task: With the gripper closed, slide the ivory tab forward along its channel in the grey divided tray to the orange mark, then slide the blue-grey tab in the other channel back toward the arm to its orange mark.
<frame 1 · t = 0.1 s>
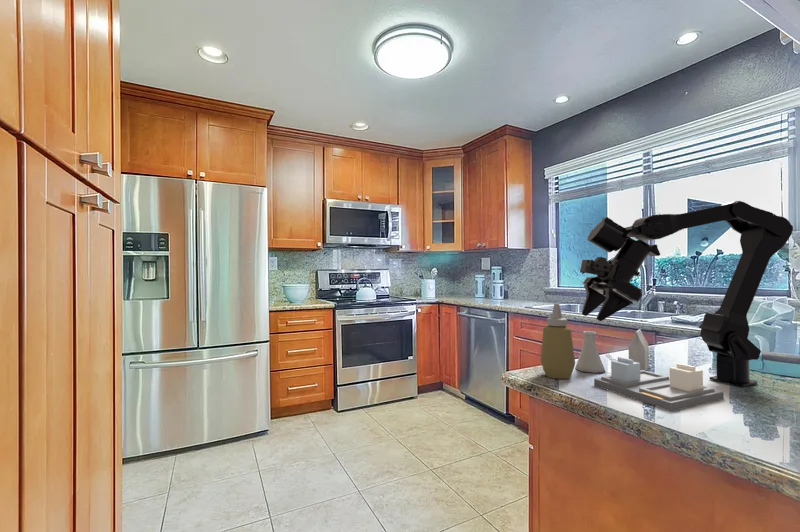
hand: (590, 317, 91), 15 cm above the counter, tool tilted 35°, fingers open, 9 cm apart
tab blue: (625, 369, 85), point 4 cm above the counter, slide at 3.0 cm
tab ivory: (686, 376, 78), point 4 cm above the counter, slide at -3.0 cm
squeeze bottle: (557, 376, 94), on the counter
flask: (590, 370, 99), on the counter
grey divided tray: (654, 391, 82), on the counter
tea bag: (639, 369, 101), on the counter
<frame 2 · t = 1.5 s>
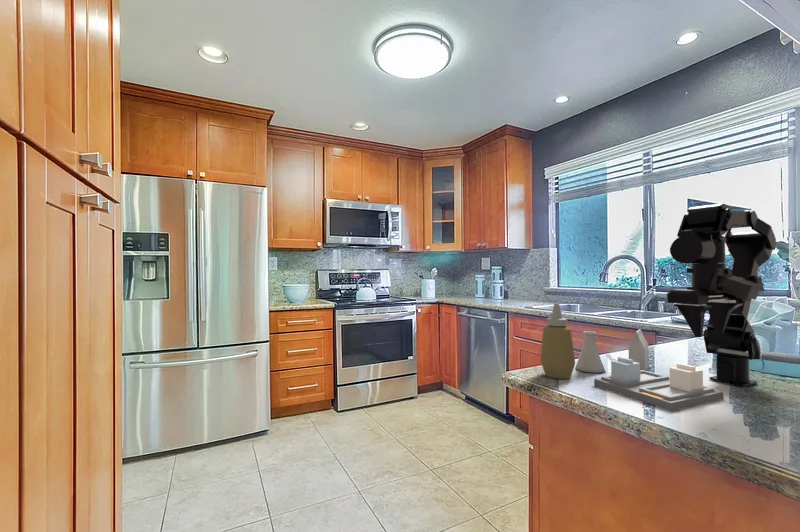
hand: (709, 335, 81), 12 cm above the counter, tool pointing down, fingers open, 7 cm apart
nothing on the counter moved.
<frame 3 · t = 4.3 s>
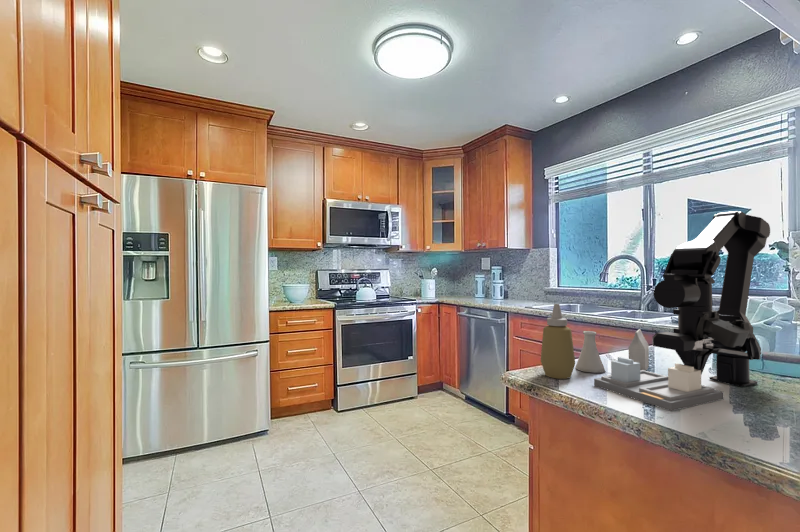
hand: (695, 379, 80), 3 cm above the counter, tool pointing down, fingers closed
tab ivory: (684, 376, 78), point 4 cm above the counter, slide at -2.5 cm, touching gripper
everything else where it was.
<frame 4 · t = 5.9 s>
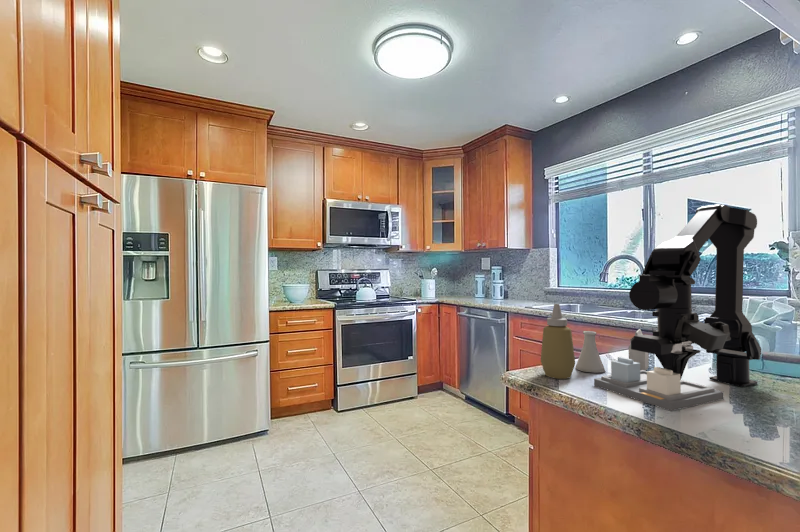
hand: (675, 383, 77), 3 cm above the counter, tool pointing down, fingers closed
tab ivory: (663, 380, 76), point 4 cm above the counter, slide at 4.0 cm, touching gripper, grey divided tray
everything else where it was.
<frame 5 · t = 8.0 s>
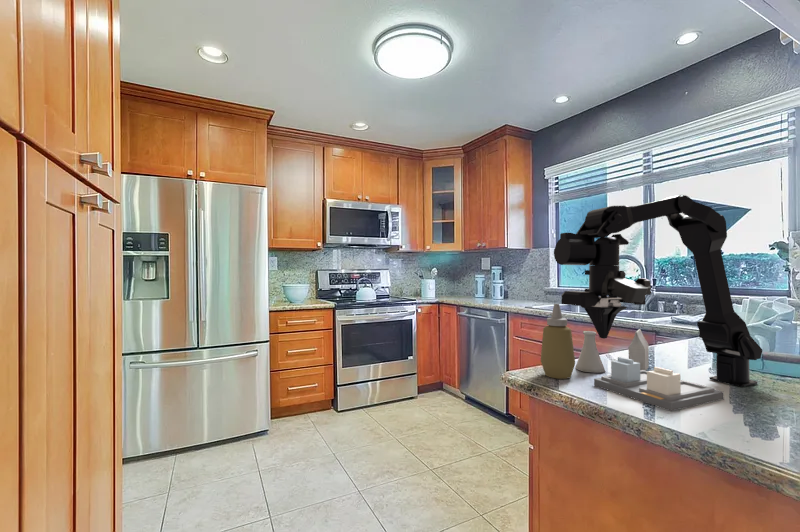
hand: (603, 338, 81), 12 cm above the counter, tool pointing down, fingers closed
tab ivory: (663, 380, 76), point 4 cm above the counter, slide at 4.0 cm, touching grey divided tray
everything else where it was.
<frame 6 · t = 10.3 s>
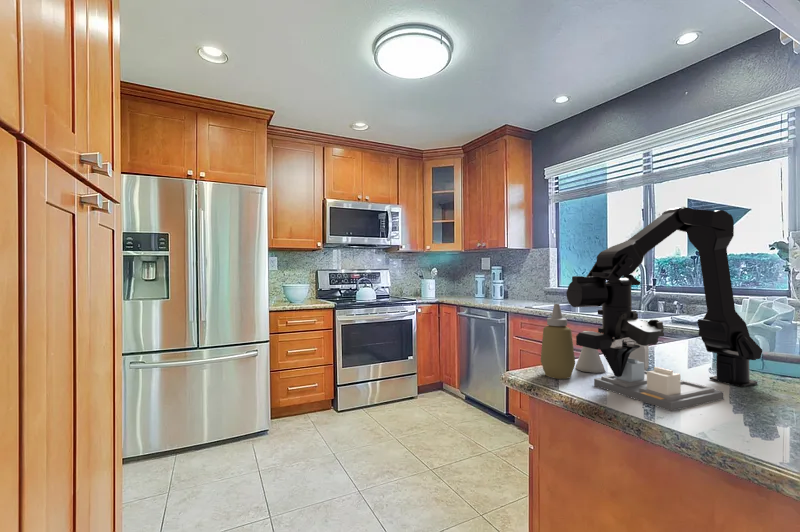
hand: (618, 376, 84), 3 cm above the counter, tool pointing down, fingers closed
tab blue: (629, 368, 85), point 4 cm above the counter, slide at 1.7 cm, touching gripper
everything else where it was.
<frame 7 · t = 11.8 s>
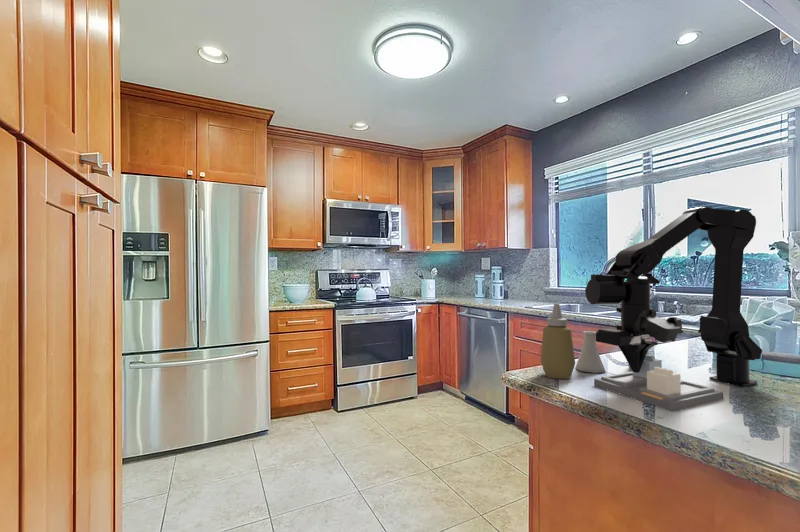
hand: (636, 372, 86), 3 cm above the counter, tool pointing down, fingers closed
tab blue: (647, 365, 87), point 4 cm above the counter, slide at -4.0 cm, touching gripper, grey divided tray
everything else where it was.
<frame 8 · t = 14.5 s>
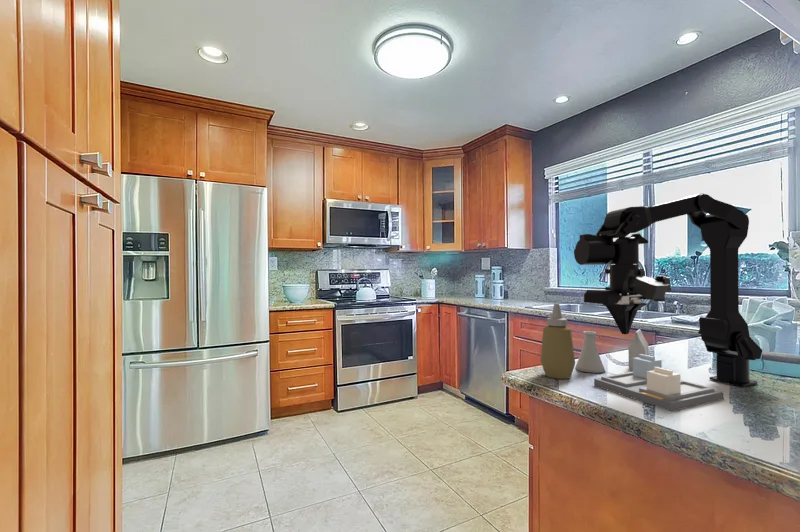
hand: (624, 334, 85), 12 cm above the counter, tool pointing down, fingers closed
tab blue: (647, 365, 87), point 4 cm above the counter, slide at -4.0 cm, touching grey divided tray
everything else where it was.
at the end: tab ivory slide at 4.0 cm; tab blue slide at -4.0 cm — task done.
